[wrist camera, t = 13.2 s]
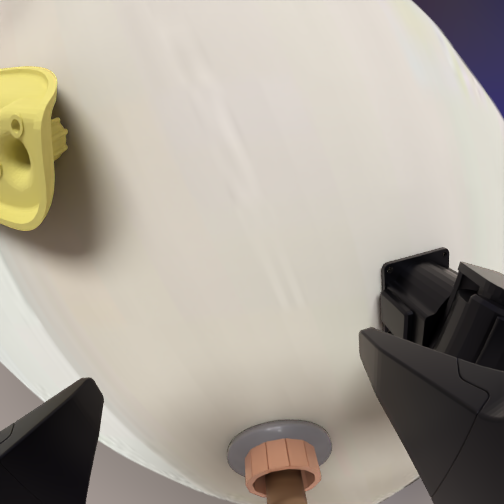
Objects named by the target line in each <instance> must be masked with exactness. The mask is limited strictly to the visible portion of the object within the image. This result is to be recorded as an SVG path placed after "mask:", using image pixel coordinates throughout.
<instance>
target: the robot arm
mask: <svg viewBox="0 0 504 504" xmlns="http://www.w3.org/2000/svg"><path fill="white" fill-rule="evenodd" d="M443 253H444V255H443ZM389 267H390V270H389V271H388V272H387V269H388V268H389ZM458 270H459V272H458V273H457V272H456V271H454V270H452V269H450V268H449V251H448V249H446V248H444V247H442V248H438V249H435V250H431V251H428V252H424V253H420V254H417V255H413V256H409V257H405V258H401V259H398V260H394V261H390V262H387V263H385V264H384V265H383V267H382V286H383V290H382V292H381V321H382V322H383V331H381V330H378V329H375V328H372V327H370V328H367V329H364V330H361V331H360V332H359V353H360V358H361V360H362V363H363V365H364V367H365V370H366V372H367V375H368V377H369V380H370V382H371V384H372V387H373V389H374V392H375V394H376V396H377V398H378V400H379V402H380V404H381V405H382V407H383V409H384V411H385V413H386V414H387V416H388V418H389V420H390V421H391V423H392V425H393V427H394V429H395V431H396V432H397V434H398V436H399V438H400V440H401V442H402V443H403V445H404V447H405V449H406V451H407V453H408V454H409V456H410V458H411V460H412V462H413V464H414V466H415V468H416V470H417V471H418V473H419V475H420V477H421V479H422V481H423V483H424V485H425V487H426V489H427V491H428V493H429V495H430V496H431V497H432V501H433V503H434V504H504V275H503V274H501V273H499V272H497V271H493V270H490V269H486V268H482V267H479V266H475V265H472V264H468V263H464V262H460V264H459V267H458ZM388 330H390V331H389V332H388ZM103 403H104V398H103V395H102V393H101V391H100V390H99V388H98V386H97V385H96V383H95V381H94V380H93V379H92V378H81V379H79V380H78V381H76V382H75V383H73V384H72V385H70V386H69V387H67V388H66V389H64V390H63V391H61V392H60V393H58V394H57V395H55V396H54V397H52V398H51V399H49V400H48V401H46V402H45V403H43V404H42V405H40V406H39V407H37V408H36V409H34V410H33V411H31V412H30V413H28V414H27V415H25V416H24V417H22V418H21V419H19V420H17V421H16V422H15V423H13V424H11V425H10V426H8V427H7V428H5V429H4V430H2V431H0V504H86V497H87V492H88V486H89V480H90V475H91V470H92V465H93V460H94V455H95V451H96V446H97V442H98V437H99V431H100V424H101V416H102V410H103Z"/></svg>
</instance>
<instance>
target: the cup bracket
mask: <svg viewBox="0 0 504 504" xmlns="http://www.w3.org/2000/svg"><path fill="white" fill-rule="evenodd" d="M331 451H332V443H331V440H330V437H329V435H328V433H327V431H326V430H325V429H323V428H322V427H321V426H319V425H317V424H314V423H311V422H307V421H301V420H278V421H272V422H267V423H263V424H259V425H256V426H253V427H251V428H249V429H247V430H244V431H243V432H241V433H240V434H238V435H237V436H236V437H235V438H234V439H233V440H232V441H231V442H230V444H229V446H228V454H227V459H228V463H229V465H230V467H231V468H232V469H233V470H234V471H235V472H237V473H238V474H240V475H242V476H244V477H245V478H246V486H247V488H248V490H249V492H250V493H253V494H256V495H258V496H261V497H267V494H266V484H265V474H268V473H270V472H274V471H280V470H286V469H300V470H301V474H302V479H303V485H304V490H305V491H308V490H310V489H312V488H313V487H315V486H316V485H317V484H318V483H319V482H320V481H321V473H320V468H319V466H321V465H322V464H323V463H324V462H325V461H326V460H327V459H328V457H329V456H330V454H331Z"/></svg>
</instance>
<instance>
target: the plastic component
mask: <svg viewBox="0 0 504 504" xmlns="http://www.w3.org/2000/svg"><path fill="white" fill-rule="evenodd" d="M56 95H57V78H56V76H55V75H54V74H53V73H52V72H51V71H50V70H48V69H45V68H41V67H31V66H25V67H13V68H4V69H0V224H3V225H5V226H8V227H10V228H13V229H17V230H21V231H30V230H33V229H35V228H36V227H38V226H39V225H40V224H41V223H42V221H43V220H44V218H45V217H46V215H47V213H48V211H49V208H50V206H51V203H52V199H53V194H54V185H55V172H54V161H55V160H56V159H58V158H59V157H61V153H63V152H64V151H66V150H67V149H68V146H67V145H66V134H67V133H68V131H67V129H64V128H63V126H62V125H61V124H60V118H58V117H57V118H55V119H51V115H52V109H53V106H54V104H55V102H56ZM19 124H20V125H19Z"/></svg>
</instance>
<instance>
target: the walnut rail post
mask: <svg viewBox="0 0 504 504" xmlns="http://www.w3.org/2000/svg"><path fill="white" fill-rule="evenodd" d="M265 484H266V494H267V504H307V500H306V495H305V490H304V485H303V479H302V474H301V470H300V469H286V470H280V471H274V472H270V473H268V474H265Z"/></svg>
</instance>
